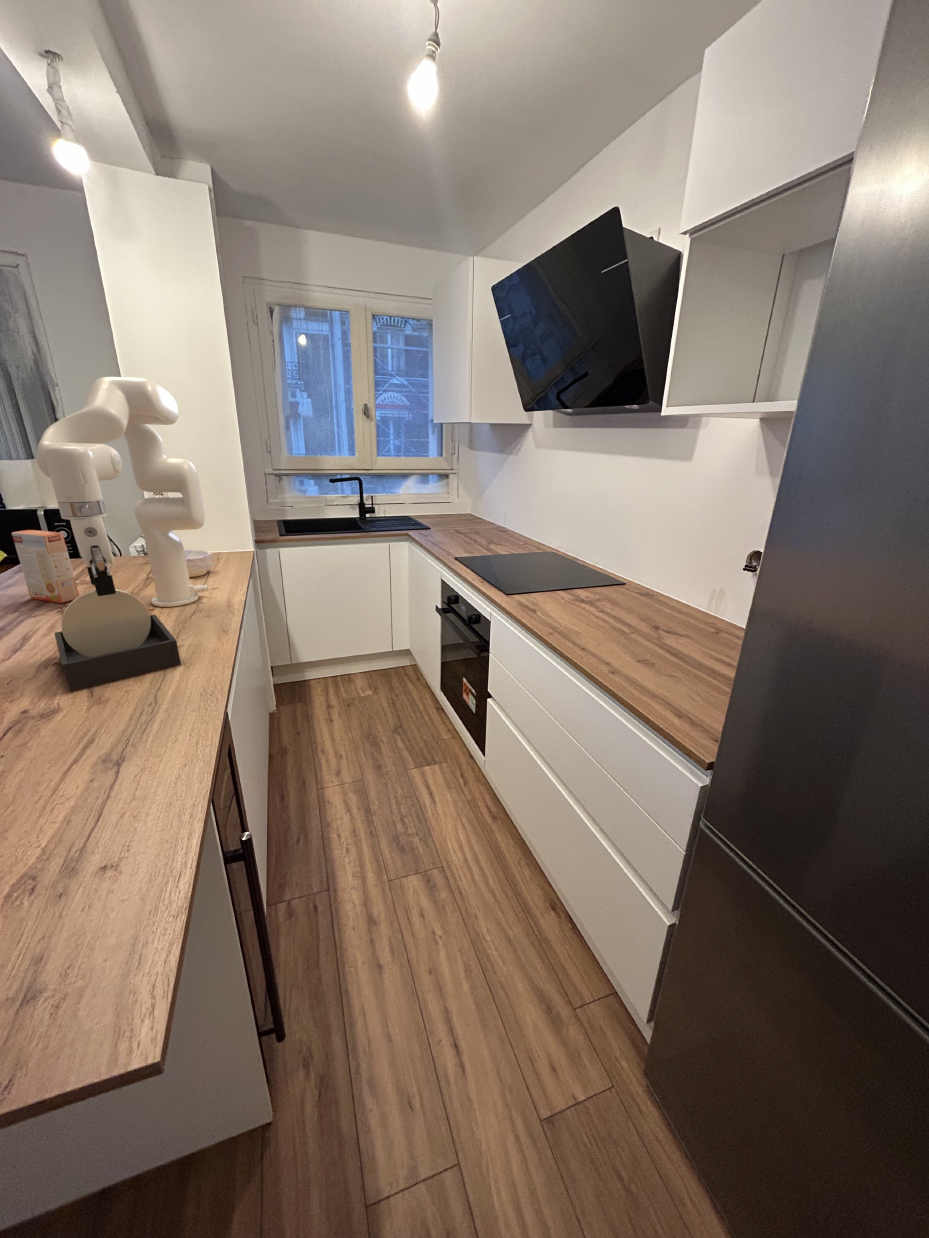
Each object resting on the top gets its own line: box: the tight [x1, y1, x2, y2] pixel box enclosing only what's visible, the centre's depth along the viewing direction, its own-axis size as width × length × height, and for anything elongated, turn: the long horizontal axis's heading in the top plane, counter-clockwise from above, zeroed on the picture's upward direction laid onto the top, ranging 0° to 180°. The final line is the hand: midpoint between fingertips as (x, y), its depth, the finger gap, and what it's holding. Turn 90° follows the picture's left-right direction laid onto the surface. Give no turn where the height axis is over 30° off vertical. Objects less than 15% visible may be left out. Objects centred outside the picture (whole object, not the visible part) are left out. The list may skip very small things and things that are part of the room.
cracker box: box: [11, 529, 80, 604], centre depth 148 cm, size 14×6×21 cm, turn 71°
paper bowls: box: [184, 549, 214, 578], centre depth 179 cm, size 15×15×8 cm
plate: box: [60, 588, 151, 657], centre depth 108 cm, size 16×1×16 cm, turn 131°
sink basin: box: [54, 613, 182, 693], centre depth 110 cm, size 20×22×6 cm
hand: (103, 589), depth 106 cm, fingers open, 9 cm apart
